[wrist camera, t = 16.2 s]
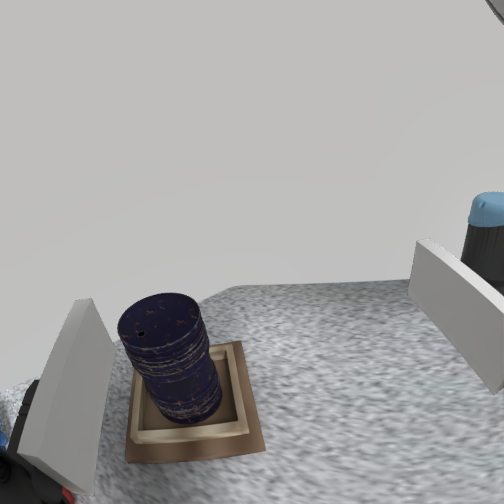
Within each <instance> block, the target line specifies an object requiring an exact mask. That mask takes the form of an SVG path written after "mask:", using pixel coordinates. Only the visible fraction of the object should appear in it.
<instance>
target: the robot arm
mask: <svg viewBox="0 0 504 504" xmlns="http://www.w3.org/2000/svg"><path fill="white" fill-rule="evenodd" d="M485 1H486V2H487V4H488V5H489V7H490V8H491V10H492V11H493V13H494V14H495V15H496V17H497V18H498V19H499V20H500V21H501V22H502V24H503V25H504V0H485ZM468 223H469V224H468V229H467V234H466V239H465V243H464V248H463V252H462V256H461V261H460V260H458V259H457V258H456V257H454V256H453V255H452V254H450V253H449V252H448V251H446V250H445V249H443V248H442V247H441V246H440V245H438V244H437V243H435V242H434V241H432V240H431V239H430V238H427V239H423V240H418V241H416V249H415V254H414V261H413V266H412V272H411V277H410V282H409V287H408V291H407V295H408V296H409V297H410V298H411V299H412V300H413V301H414V302H415V303H416V304H417V305H418V306H419V307H420V309H421V310H422V311H423V312H424V313H425V314H426V315H427V316H428V317H429V318H430V320H431V321H432V322H433V323H434V324H435V325H436V326H437V327H438V328H439V330H440V331H441V332H442V333H443V334H444V335H445V336H446V338H447V339H448V340H449V341H450V342H451V343H452V345H453V346H454V347H455V348H456V349H457V350H458V352H459V353H460V354H461V355H462V356H463V358H464V359H465V360H466V361H467V362H468V364H469V365H470V366H471V367H472V369H473V370H474V371H475V372H476V374H477V375H478V376H479V377H480V379H481V380H482V381H483V382H484V384H485V385H486V386H487V388H488V389H489V390H490V392H491V393H492V394H493V395H494V394H496V393H497V392H498V391H500V390H501V389H502V388H504V193H503V192H485V193H481V194H479V195H477V196H476V197H475V198H474V200H473V202H472V206H471V211H470V215H469V217H468ZM116 352H117V350H116V348H115V346H114V344H113V342H112V340H111V338H110V336H109V334H108V332H107V330H106V328H105V326H104V324H103V322H102V320H101V317H100V315H99V313H98V311H97V309H96V307H95V304H94V302H93V300H92V298H88V299H81V300H75V302H74V304H73V306H72V308H71V310H70V312H69V314H68V316H67V319H66V320H65V323H64V325H63V327H62V329H61V331H60V334H59V336H58V338H57V340H56V342H55V345H54V347H53V349H52V351H51V354H50V356H49V359H48V361H47V364H46V366H45V368H44V371H43V374H42V376H41V379H40V380H34V382H33V383H32V384H31V385H30V387H29V388H28V389H27V391H26V393H25V396H24V399H23V401H22V406H21V407H20V410H19V413H18V414H19V416H17V419H16V422H15V425H14V428H13V431H12V435H11V438H10V441H9V445H8V448H7V451H6V453H5V452H4V451H3V450H2V449H1V448H0V504H71V503H70V502H69V500H68V499H67V497H66V496H65V495H64V494H63V493H62V491H63V487H65V488H66V489H68V490H69V491H71V492H73V493H76V494H82V495H88V496H94V487H95V476H96V466H97V458H98V450H99V442H100V435H101V428H102V422H103V416H104V410H105V405H106V399H107V394H108V389H109V384H110V379H111V374H112V369H113V365H114V360H115V356H116Z"/></svg>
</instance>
